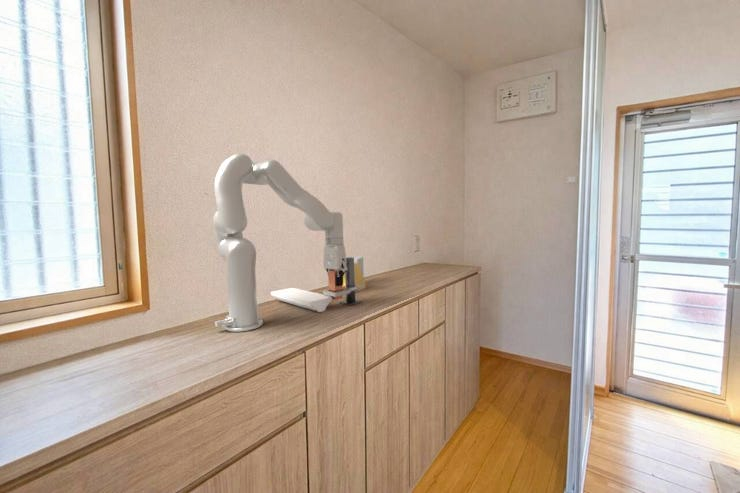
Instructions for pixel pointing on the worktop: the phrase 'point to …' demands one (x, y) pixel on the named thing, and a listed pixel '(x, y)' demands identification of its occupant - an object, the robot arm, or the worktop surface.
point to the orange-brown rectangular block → (334, 283)
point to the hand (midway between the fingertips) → (336, 284)
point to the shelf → (303, 298)
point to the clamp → (356, 277)
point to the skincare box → (359, 263)
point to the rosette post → (347, 285)
